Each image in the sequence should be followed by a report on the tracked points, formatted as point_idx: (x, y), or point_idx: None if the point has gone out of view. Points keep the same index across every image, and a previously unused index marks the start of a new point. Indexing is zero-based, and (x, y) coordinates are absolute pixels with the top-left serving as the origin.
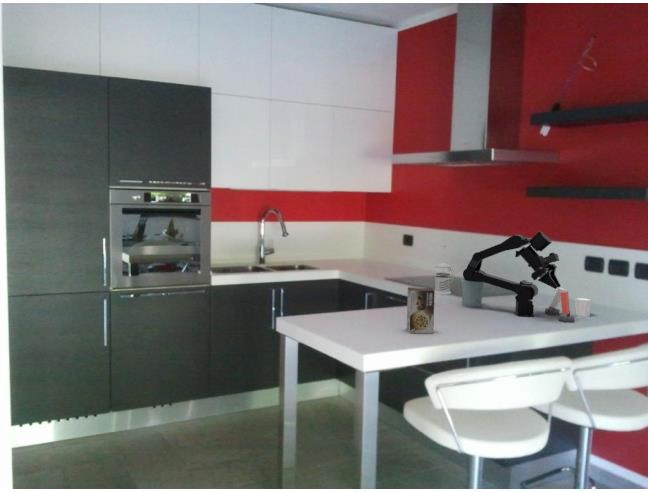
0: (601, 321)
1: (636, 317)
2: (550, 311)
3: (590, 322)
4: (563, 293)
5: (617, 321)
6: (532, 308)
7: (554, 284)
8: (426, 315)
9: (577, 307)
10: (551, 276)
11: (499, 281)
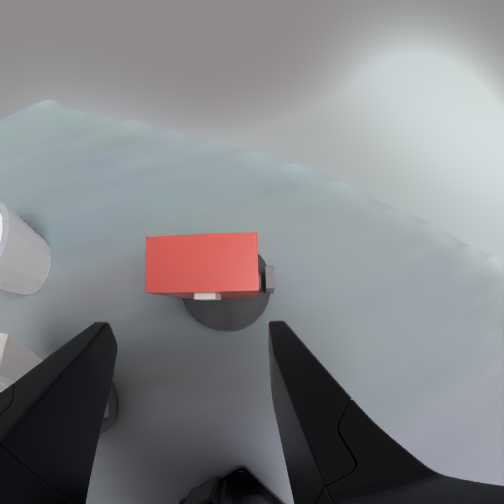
0: (124, 164)
1: (12, 124)
2: (109, 405)
3: (177, 188)
4: (256, 258)
5: (93, 129)
6: (218, 493)
7: (311, 359)
8: None
9: (24, 273)
10: (28, 484)
11: None
